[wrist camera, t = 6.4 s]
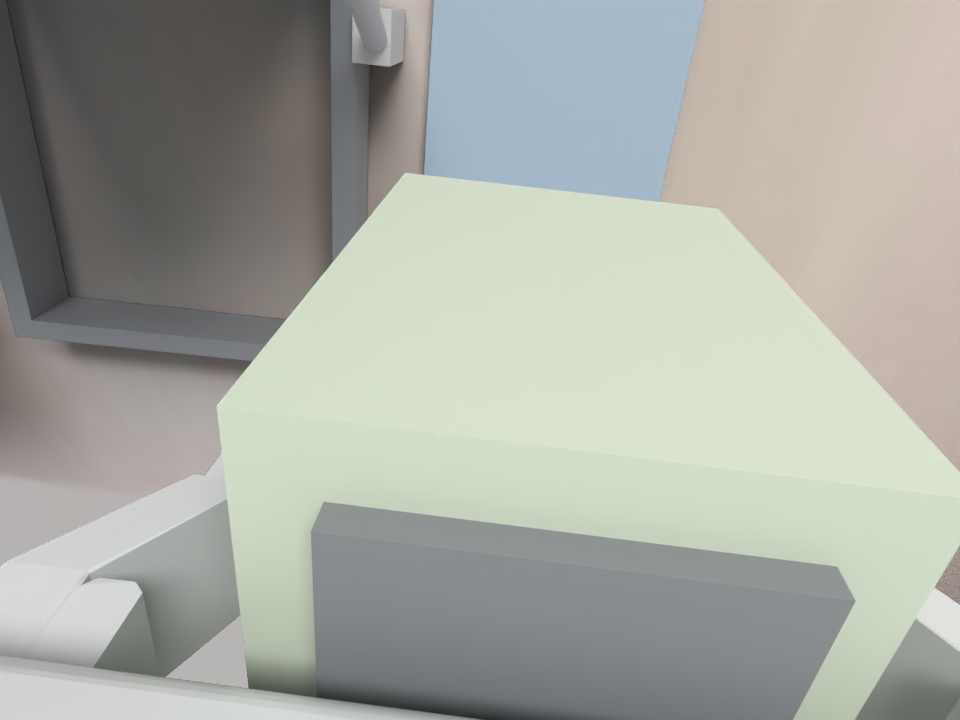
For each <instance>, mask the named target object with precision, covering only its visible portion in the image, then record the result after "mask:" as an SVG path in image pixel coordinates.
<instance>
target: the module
mask: <svg viewBox="0 0 960 720" xmlns="http://www.w3.org/2000/svg"><path fill="white" fill-rule="evenodd" d="M216 407H217V415H218V424H219V433H220V442H221V450H222V459H223V468H224V476H225V485H226V494H227V503H228V511H229V520H230V529H231V537H232V546H233V555H234V564H235V572H236V581H237V590H238V598H239V607H240V616H241V625H242V633H243V642H244V649H245V650H244V651H245V659H246V668H247V677H248V686H249V689H256V690H264V691H271V692H279V693H286V694H294V695H301V696H309V697H316V698H324V699H332V700H339V701H347V702H354V703H362V704H369V705H377V706H384V707H392V708H399V709H407V710H414V711H422V712H429V713H437V714H444V715H452V716H460V717H467V718H475V719H482V720H855V718H856V717H857V715H858V713H859V712H860V710H861V708H862V707H863V705H864V704H865V702H866V700H867V699H868V697H869V695H870V694H871V692H872V690H873V689H874V687H875V685H876V684H877V682H878V680H879V679H880V677H881V675H882V674H883V672H884V670H885V669H886V667H887V665H888V664H889V662H890V660H891V659H892V657H893V655H894V654H895V652H896V650H897V649H898V647H899V645H900V644H901V642H902V640H903V639H904V637H905V635H906V634H907V632H908V630H909V629H910V627H911V625H912V624H913V622H914V620H915V619H916V617H917V615H918V614H919V612H920V610H921V609H922V607H923V605H924V604H925V602H926V600H927V599H928V597H929V595H930V594H931V592H932V590H933V589H934V587H935V585H936V584H937V582H938V580H939V579H940V577H941V575H942V574H943V572H944V570H945V569H946V567H947V566H948V564H949V562H950V561H951V559H952V557H953V556H954V554H955V552H956V551H957V549H958V547H959V546H960V472H959V471H958V470H957V469H956V468H955V467H954V466H953V464H952V463H951V462H950V461H949V460H948V459H947V458H946V457H945V456H944V455H943V453H942V452H941V451H940V450H939V449H938V448H937V447H936V446H935V445H934V444H933V443H932V441H931V440H930V439H929V438H928V437H927V436H926V435H925V434H924V433H923V432H922V431H921V429H920V428H919V427H918V426H917V425H916V424H915V423H914V422H913V421H912V420H911V419H910V417H909V416H908V415H907V414H906V413H905V412H904V411H903V410H902V409H901V408H900V407H899V405H898V404H897V403H896V402H895V401H894V400H893V399H892V398H891V397H890V396H889V395H888V393H887V392H886V391H885V390H884V389H883V388H882V387H881V386H880V385H879V384H878V382H877V381H876V380H875V379H874V378H873V377H872V376H871V375H870V374H869V373H868V372H867V370H866V369H865V368H864V367H863V366H862V365H861V364H860V363H859V362H858V361H857V360H856V358H855V357H854V356H853V355H852V354H851V353H850V352H849V351H848V350H847V349H846V348H845V346H844V345H843V344H842V343H841V342H840V341H839V340H838V339H837V338H836V337H835V336H834V334H833V333H832V332H831V331H830V330H829V329H828V328H827V327H826V326H825V325H824V323H823V322H822V321H821V320H820V319H819V318H818V317H817V316H816V315H815V314H814V313H813V311H812V310H811V309H810V308H809V307H808V306H807V305H806V304H805V303H804V302H803V301H802V299H801V298H800V297H799V296H798V295H797V294H796V293H795V292H794V291H793V290H792V289H791V287H790V286H789V285H788V284H787V283H786V282H785V281H784V280H783V279H782V278H781V277H780V275H779V274H778V273H777V272H776V271H775V270H774V269H773V268H772V267H771V266H770V265H769V263H768V262H767V261H766V260H765V259H764V258H763V257H762V256H761V255H760V254H759V252H758V251H757V250H756V249H755V248H754V247H753V246H752V245H751V244H750V243H749V242H748V240H747V239H746V238H745V237H744V236H743V235H742V234H741V233H740V232H739V231H738V230H737V228H736V227H735V226H734V225H733V224H732V223H731V222H730V221H729V220H728V219H727V218H726V216H725V215H724V214H723V213H722V212H721V211H720V210H719V209H717V208H708V207H699V206H690V205H682V204H673V203H664V202H656V201H647V200H638V199H630V198H621V197H612V196H604V195H595V194H586V193H577V192H569V191H560V190H551V189H543V188H534V187H525V186H517V185H508V184H499V183H491V182H482V181H473V180H465V179H456V178H447V177H438V176H430V175H421V174H412V173H405V174H404V175H403V176H402V177H401V178H400V180H399V181H398V182H397V183H396V185H395V186H394V187H393V188H392V190H391V191H390V192H389V193H388V195H387V196H386V197H385V198H384V199H383V201H382V202H381V203H380V204H379V206H378V207H377V208H376V209H375V211H374V212H373V213H372V214H371V216H370V217H369V218H368V219H367V220H366V222H365V223H364V224H363V225H362V227H361V228H360V229H359V230H358V232H357V233H356V234H355V235H354V237H353V238H352V239H351V240H350V241H349V243H348V244H347V245H346V246H345V248H344V249H343V250H342V251H341V253H340V254H339V255H338V256H337V258H336V259H335V260H334V261H333V263H332V264H331V265H330V266H329V267H328V269H327V270H326V271H325V272H324V274H323V275H322V276H321V277H320V279H319V280H318V281H317V282H316V284H315V285H314V286H313V287H312V288H311V290H310V291H309V292H308V293H307V295H306V296H305V297H304V298H303V300H302V301H301V302H300V303H299V305H298V306H297V307H296V308H295V309H294V311H293V312H292V313H291V314H290V316H289V317H288V318H287V319H286V321H285V322H284V323H283V324H282V326H281V327H280V328H279V329H278V330H277V332H276V333H275V334H274V335H273V337H272V338H271V339H270V340H269V342H268V343H267V344H266V345H265V347H264V348H263V349H262V350H261V351H260V353H259V354H258V355H257V356H256V358H255V359H254V360H253V361H252V363H251V364H250V365H249V366H248V368H247V369H246V370H245V371H244V373H243V374H242V375H241V376H240V377H239V379H238V380H237V381H236V382H235V384H234V385H233V386H232V387H231V389H230V390H229V391H228V392H227V394H226V395H225V396H224V397H223V398H222V400H221V401H220V402H219V403H218V405H217V406H216Z"/></svg>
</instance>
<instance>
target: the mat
mask: <svg viewBox="0 0 960 720" xmlns="http://www.w3.org/2000/svg"><path fill="white" fill-rule="evenodd" d="M704 2H705V0H434V6H433V24H432V41H431V59H430V76H429V93H428V111H427V128H426V146H425V163H424V175H430V176H438V177H447V178H456V179H465V180H473V181H482V182H491V183H499V184H508V185H517V186H525V187H534V188H543V189H551V190H560V191H569V192H577V193H586V194H595V195H604V196H612V197H621V198H630V199H638V200H647V201H656V202H659V200H660V195H661V191H662V186H663V182H664V178H665V173H666V169H667V164H668V160H669V156H670V151H671V147H672V143H673V138H674V134H675V129H676V125H677V121H678V116H679V112H680V107H681V103H682V99H683V94H684V90H685V86H686V81H687V77H688V72H689V68H690V64H691V59H692V55H693V51H694V46H695V42H696V37H697V33H698V29H699V24H700V20H701V15H702V11H703V7H704Z"/></svg>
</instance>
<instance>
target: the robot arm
mask: <svg viewBox="0 0 960 720" xmlns="http://www.w3.org/2000/svg"><path fill="white" fill-rule="evenodd" d="M238 616H240V607H239V598H238V590H237V581H236V572H235V564H234V555H233V546H232V537H231V529H230V520H229V511H228V503H227V494H226V485H225V476H224V468H223V459H222V452H221V453H220V455H219V456H218V457H217V459H216V460H215V462H214V463H213V464H212V466H211V467H210V468H209V470H208V471H207V473H206V474H205V475H204V476H202V475H191V476H189V477H187V478H185V479H183V480H181V481H179V482H176V483H174V484H172V485H170V486H168V487H166V488H163V489H161V490H159V491H157V492H155V493H153V494H151V495H148V496H146V497H144V498H142V499H140V500H138V501H136V502H133V503H131V504H129V505H127V506H125V507H123V508H120V509H118V510H116V511H114V512H112V513H110V514H108V515H106V516H103V517H101V518H99V519H97V520H95V521H92V522H90V523H88V524H86V525H84V526H82V527H80V528H78V529H75V530H73V531H71V532H69V533H67V534H65V535H62V536H60V537H58V538H56V539H54V540H52V541H49V542H47V543H46V544H43V545H41V546H39V547H37V548H35V549H32V550H30V551H28V552H26V553H24V554H21V555H19V556H17V557H15V558H13V559H11V560H9V561H7V562H5V563H4V564H3V565H2V566H1V567H0V720H482V719H475V718H467V717H460V716H452V715H444V714H437V713H429V712H422V711H414V710H407V709H399V708H392V707H384V706H377V705H369V704H362V703H354V702H347V701H339V700H332V699H324V698H316V697H309V696H301V695H294V694H286V693H279V692H271V691H264V690H256V689H249V688H241V687H234V686H226V685H219V684H211V683H203V682H195V681H189V680H181V679H173V678H166V676H167V675H168V674H170V673H171V672H172V671H173V670H174V669H176V668H177V667H178V666H179V665H180V664H181V663H183V662H184V661H185V660H187V659H188V658H189V657H190V656H191V655H193V654H194V653H195V652H196V651H197V650H199V649H200V648H201V647H202V646H203V645H205V644H206V643H207V642H208V641H209V640H210V639H212V638H213V637H214V636H216V635H217V634H218V633H219V632H220V631H221V630H223V629H224V628H225V627H226V626H227V625H229V624H230V623H231V622H232V621H233V620H235V619H236V618H237V617H238ZM855 720H960V605H959V604H958V603H956V602H955V601H953V600H952V599H950V598H949V597H947V596H946V595H944V594H943V593H941V592H940V591H939V590H937V589H936V588H934V589H933V590H932V592H931V594H930V595H929V597H928V599H927V600H926V602H925V604H924V605H923V607H922V609H921V610H920V612H919V614H918V615H917V617H916V619H915V620H914V622H913V624H912V625H911V627H910V629H909V630H908V632H907V634H906V635H905V637H904V639H903V640H902V642H901V644H900V645H899V647H898V649H897V650H896V652H895V654H894V655H893V657H892V659H891V660H890V662H889V664H888V665H887V667H886V669H885V670H884V672H883V674H882V675H881V677H880V679H879V680H878V682H877V684H876V685H875V687H874V689H873V690H872V692H871V694H870V695H869V697H868V699H867V700H866V702H865V704H864V705H863V707H862V708H861V710H860V712H859V713H858V715H857V717H856V718H855Z"/></svg>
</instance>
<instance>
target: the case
mask: <svg viewBox="0 0 960 720" xmlns="http://www.w3.org/2000/svg"><path fill="white" fill-rule="evenodd" d="M404 34H405V10H399V9H390V8H381V7H379V4H378V0H330V38H331V162H332V263H333V261H334V260H335V259H336V258H337V256H338V255H339V254H340V253H341V251H342V250H343V249H344V248H345V246H346V245H347V244H348V243H349V241H350V240H351V239H352V238H353V237H354V235H355V234H356V233H357V232H358V230H359V229H360V228H361V227H362V225H363V224H364V223H365V222H366V220H367V193H368V136H369V79H370V65H378V66H387V67H391V66H393V65H395V64H397V63H400V62H402V61H403V59H404ZM0 277H1V281H2V285H3V289H4V293H5V296H6V300H7V304H8V308H9V312H10V316H11V319H12V323H13V327H14V331H15V335H16V336H17V337H26V338H36V339H45V340H55V341H64V342H74V343H83V344H93V345H103V346H112V347H122V348H131V349H141V350H150V351H160V352H169V353H179V354H189V355H198V356H208V357H217V358H227V359H236V360H246V361H253V360H254V359H255V358H256V356H257V355H258V354H259V353H260V351H261V350H262V349H263V348H264V347H265V345H266V344H267V343H268V342H269V340H270V339H271V338H272V337H273V335H274V334H275V333H276V332H277V330H278V329H279V328H280V327H281V326H282V324H283V323H284V322H285V321H286V319H277V318H268V317H258V316H249V315H239V314H230V313H220V312H211V311H201V310H192V309H182V308H173V307H163V306H154V305H145V304H135V303H126V302H116V301H107V300H97V299H88V298H78V297H69V295H68V290H67V285H66V281H65V276H64V271H63V266H62V262H61V257H60V252H59V248H58V243H57V238H56V234H55V229H54V224H53V219H52V215H51V210H50V205H49V201H48V196H47V191H46V186H45V182H44V177H43V172H42V168H41V163H40V158H39V153H38V149H37V144H36V139H35V135H34V130H33V125H32V121H31V116H30V111H29V106H28V102H27V97H26V92H25V88H24V83H23V78H22V73H21V69H20V64H19V59H18V55H17V50H16V45H15V40H14V36H13V31H12V26H11V22H10V17H9V12H8V8H7V3H6V0H0Z"/></svg>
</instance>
